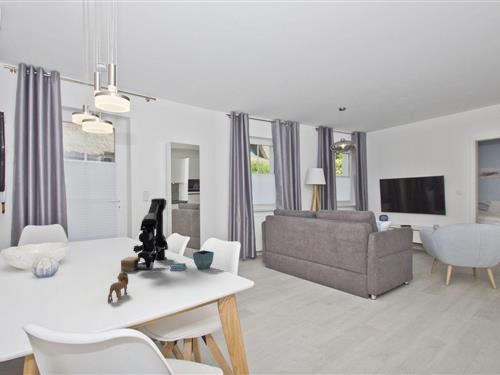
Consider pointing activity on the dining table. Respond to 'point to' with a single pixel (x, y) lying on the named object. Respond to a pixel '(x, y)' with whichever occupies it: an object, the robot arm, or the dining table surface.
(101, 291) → the dining table surface
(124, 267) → the brown block
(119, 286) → the lion figurine
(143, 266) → the axle
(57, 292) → the dining table surface
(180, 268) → the cradle
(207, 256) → the flower pot
